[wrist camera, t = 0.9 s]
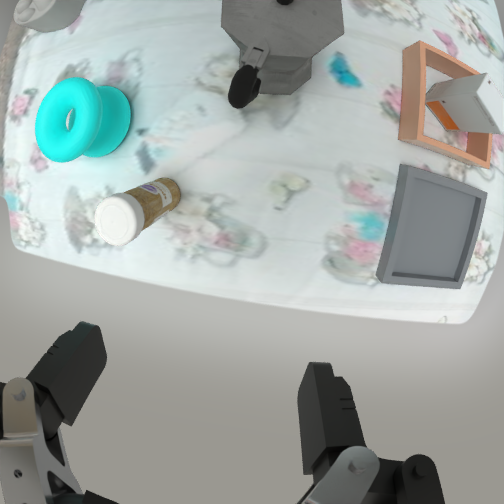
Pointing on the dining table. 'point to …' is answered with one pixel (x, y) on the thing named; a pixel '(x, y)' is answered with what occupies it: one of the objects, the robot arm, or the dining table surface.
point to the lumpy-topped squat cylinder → (47, 14)
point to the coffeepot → (277, 43)
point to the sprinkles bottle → (135, 210)
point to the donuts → (81, 120)
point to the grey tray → (430, 230)
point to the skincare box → (468, 104)
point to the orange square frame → (415, 104)
